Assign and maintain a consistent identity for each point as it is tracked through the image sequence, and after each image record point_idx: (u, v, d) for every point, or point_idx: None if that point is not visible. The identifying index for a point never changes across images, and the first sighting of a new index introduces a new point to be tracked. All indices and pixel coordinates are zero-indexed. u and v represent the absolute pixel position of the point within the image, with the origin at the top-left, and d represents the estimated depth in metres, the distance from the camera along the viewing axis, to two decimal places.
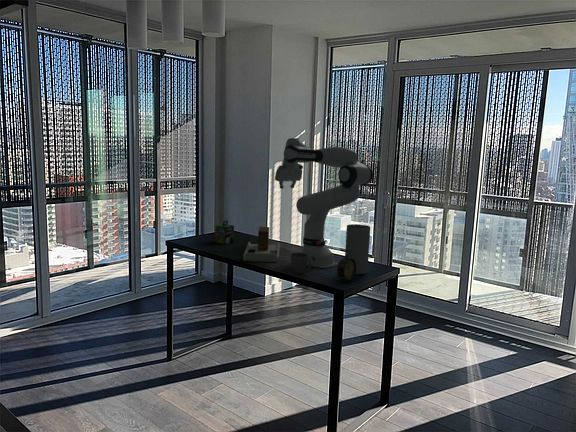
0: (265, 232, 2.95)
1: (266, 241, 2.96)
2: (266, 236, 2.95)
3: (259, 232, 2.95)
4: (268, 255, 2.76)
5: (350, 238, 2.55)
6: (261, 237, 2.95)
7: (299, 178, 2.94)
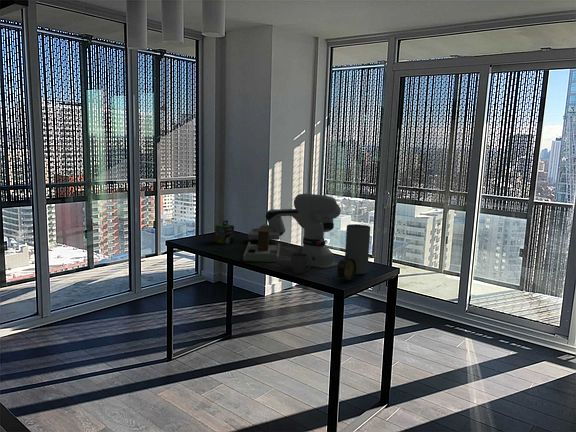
0: (265, 232, 2.94)
1: (266, 241, 2.95)
2: (266, 236, 2.95)
3: (259, 232, 2.94)
4: (268, 255, 2.76)
5: (350, 238, 2.55)
6: (261, 237, 2.95)
7: None
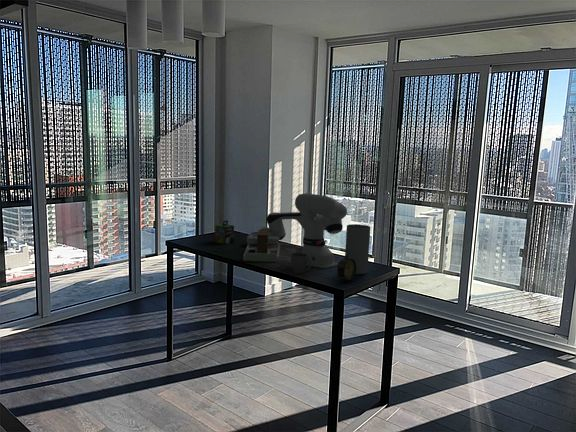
0: (264, 236, 2.84)
1: (265, 245, 2.85)
2: (265, 240, 2.85)
3: (258, 236, 2.84)
4: (268, 255, 2.76)
5: (350, 238, 2.55)
6: (260, 241, 2.85)
7: None
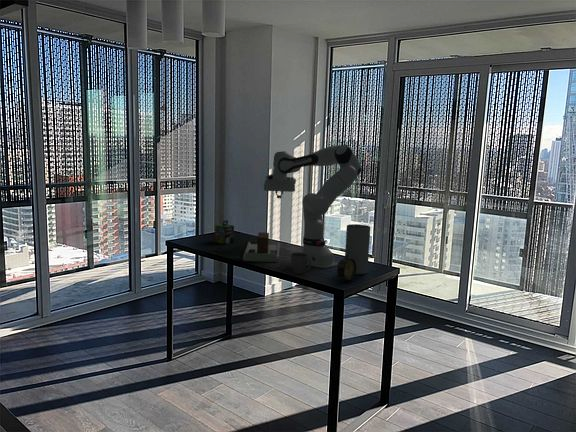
0: (264, 238, 2.77)
1: (266, 248, 2.78)
2: (266, 243, 2.77)
3: (258, 238, 2.77)
4: (268, 255, 2.76)
5: (350, 238, 2.55)
6: (260, 244, 2.77)
7: None
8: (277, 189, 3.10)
